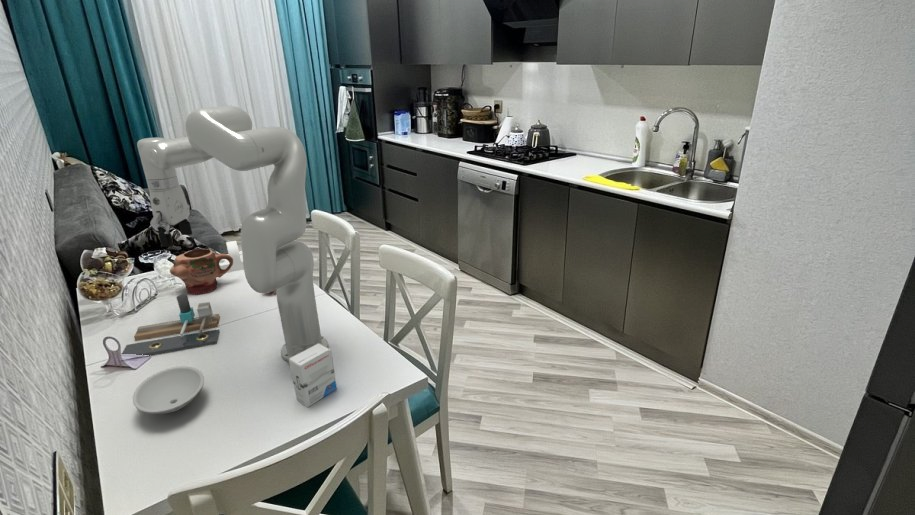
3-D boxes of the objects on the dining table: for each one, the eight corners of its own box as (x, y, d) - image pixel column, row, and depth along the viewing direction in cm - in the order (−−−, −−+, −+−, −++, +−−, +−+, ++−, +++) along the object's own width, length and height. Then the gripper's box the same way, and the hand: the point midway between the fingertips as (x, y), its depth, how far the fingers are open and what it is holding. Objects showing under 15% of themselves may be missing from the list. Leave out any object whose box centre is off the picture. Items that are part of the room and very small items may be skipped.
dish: (138, 395, 114) (132, 378, 112) (204, 375, 121) (199, 359, 119) (138, 440, 100) (131, 421, 98) (212, 414, 107) (207, 396, 105)
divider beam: (214, 339, 137) (209, 319, 135) (127, 354, 131) (121, 334, 128) (220, 317, 149) (215, 299, 146) (140, 330, 142) (134, 312, 140)
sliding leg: (188, 337, 134) (180, 310, 131) (176, 340, 134) (168, 312, 130) (195, 318, 145) (188, 292, 142) (184, 319, 144) (177, 294, 141)
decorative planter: (235, 275, 179) (228, 241, 174) (239, 287, 169) (232, 251, 164) (176, 288, 170) (166, 252, 165) (176, 301, 160) (166, 264, 155)
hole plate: (216, 343, 134) (215, 340, 134) (120, 361, 128) (118, 357, 127) (219, 331, 141) (218, 328, 140) (127, 347, 134) (126, 344, 133)
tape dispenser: (262, 266, 188) (257, 241, 184) (212, 276, 180) (206, 250, 176) (258, 258, 196) (253, 234, 192) (211, 267, 188) (205, 242, 184)
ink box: (325, 381, 117) (319, 341, 113) (337, 389, 114) (331, 348, 110) (295, 399, 111) (287, 357, 106) (307, 408, 108) (299, 365, 104)
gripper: (157, 191, 124) (173, 251, 130) (193, 176, 140) (205, 230, 146) (129, 191, 124) (146, 251, 130) (168, 176, 140) (181, 230, 146)
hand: (177, 240), depth 138 cm, fingers open, 9 cm apart
